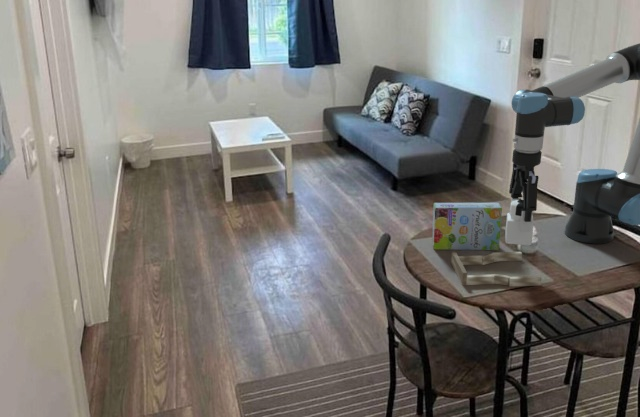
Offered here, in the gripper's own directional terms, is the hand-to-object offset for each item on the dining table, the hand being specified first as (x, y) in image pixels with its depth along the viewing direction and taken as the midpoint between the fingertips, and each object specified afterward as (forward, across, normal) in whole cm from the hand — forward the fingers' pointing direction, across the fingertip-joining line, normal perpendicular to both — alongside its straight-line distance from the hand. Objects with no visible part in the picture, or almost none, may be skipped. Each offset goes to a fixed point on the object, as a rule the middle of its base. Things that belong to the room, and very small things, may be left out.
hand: (519, 224), depth 165 cm
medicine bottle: (+5, 0, 0) cm, 5 cm away
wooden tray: (+16, 0, -7) cm, 17 cm away
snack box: (+16, -19, -10) cm, 27 cm away
